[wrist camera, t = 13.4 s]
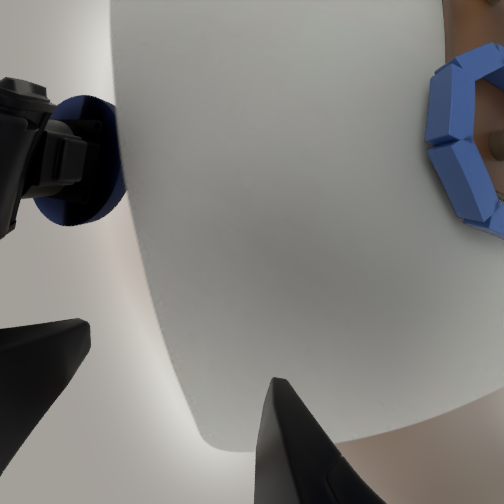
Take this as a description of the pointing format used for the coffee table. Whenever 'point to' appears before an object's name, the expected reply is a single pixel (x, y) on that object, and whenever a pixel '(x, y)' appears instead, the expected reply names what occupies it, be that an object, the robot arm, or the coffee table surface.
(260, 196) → the coffee table surface
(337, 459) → the robot arm
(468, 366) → the coffee table surface
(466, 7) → the rack
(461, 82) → the ring
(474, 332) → the coffee table surface
